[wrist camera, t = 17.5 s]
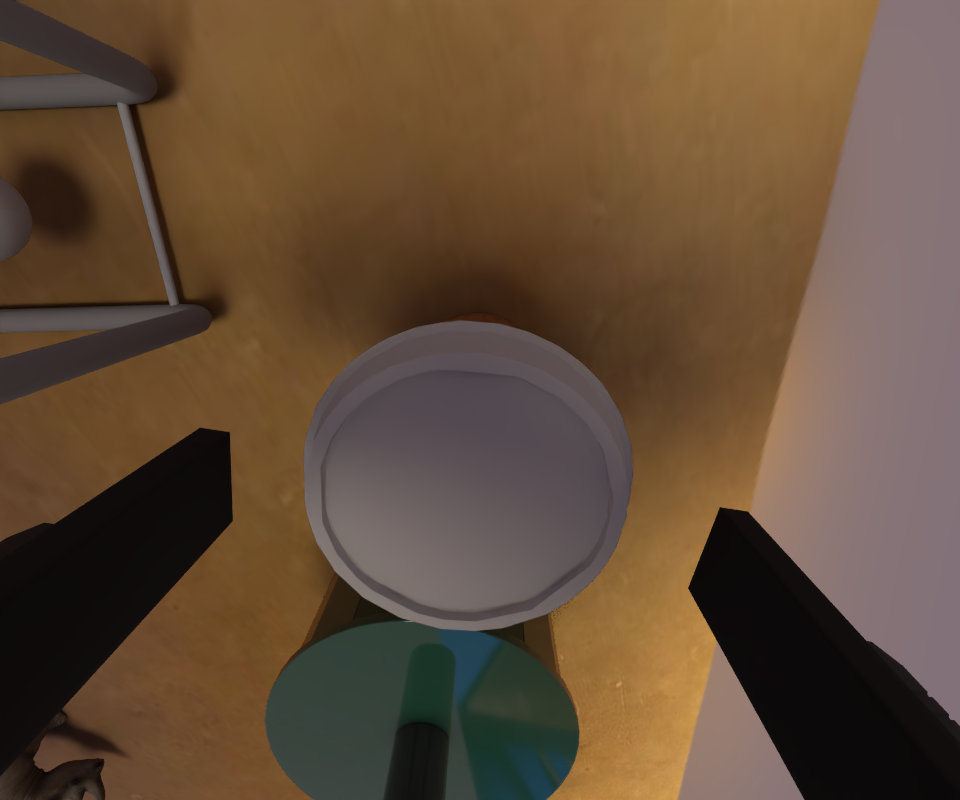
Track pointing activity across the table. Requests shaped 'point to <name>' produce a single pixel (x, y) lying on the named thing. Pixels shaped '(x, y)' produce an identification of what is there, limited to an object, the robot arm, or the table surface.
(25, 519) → the table surface
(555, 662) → the pot
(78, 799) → the rhino figurine
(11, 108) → the newton's cradle
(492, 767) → the pot lid
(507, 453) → the disposable coffee cup
